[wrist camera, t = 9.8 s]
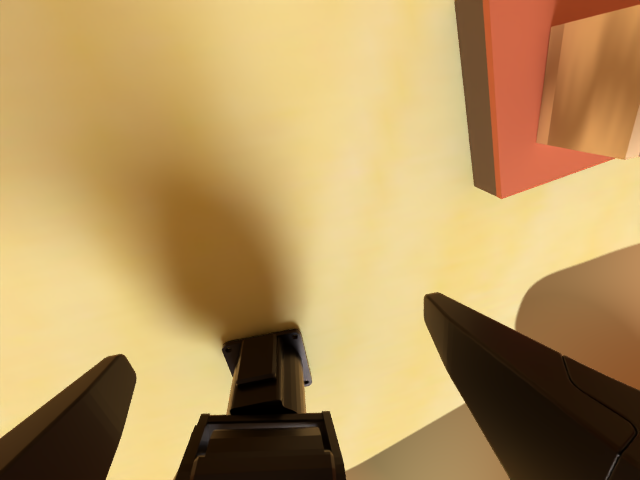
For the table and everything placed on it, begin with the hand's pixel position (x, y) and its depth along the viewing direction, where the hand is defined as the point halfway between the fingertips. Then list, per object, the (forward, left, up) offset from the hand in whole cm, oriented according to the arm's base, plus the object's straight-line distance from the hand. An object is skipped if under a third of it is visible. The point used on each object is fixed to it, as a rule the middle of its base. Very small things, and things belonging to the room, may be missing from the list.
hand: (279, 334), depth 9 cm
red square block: (+5, -18, -13) cm, 23 cm away
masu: (+5, -18, -10) cm, 21 cm away
